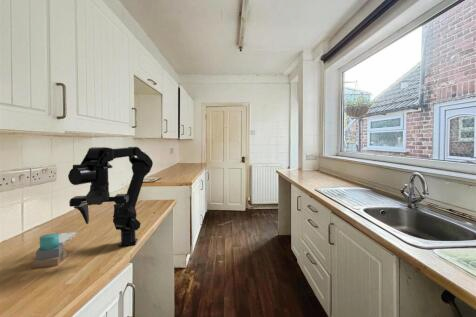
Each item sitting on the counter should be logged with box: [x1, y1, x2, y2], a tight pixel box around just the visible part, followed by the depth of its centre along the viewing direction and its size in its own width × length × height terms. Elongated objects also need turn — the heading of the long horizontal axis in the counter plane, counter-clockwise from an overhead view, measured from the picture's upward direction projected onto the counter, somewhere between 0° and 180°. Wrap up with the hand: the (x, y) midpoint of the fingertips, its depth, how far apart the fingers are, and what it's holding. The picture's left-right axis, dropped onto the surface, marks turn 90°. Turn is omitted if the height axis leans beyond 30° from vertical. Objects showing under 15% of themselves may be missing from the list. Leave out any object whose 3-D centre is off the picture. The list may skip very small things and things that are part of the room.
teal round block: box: [39, 233, 60, 250], centre depth 91 cm, size 6×6×4 cm
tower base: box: [30, 249, 68, 269], centre depth 92 cm, size 8×8×3 cm
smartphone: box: [58, 231, 78, 245], centre depth 114 cm, size 7×1×15 cm
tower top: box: [35, 242, 64, 260], centre depth 92 cm, size 6×6×3 cm
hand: (101, 222), depth 95 cm, fingers open, 9 cm apart
